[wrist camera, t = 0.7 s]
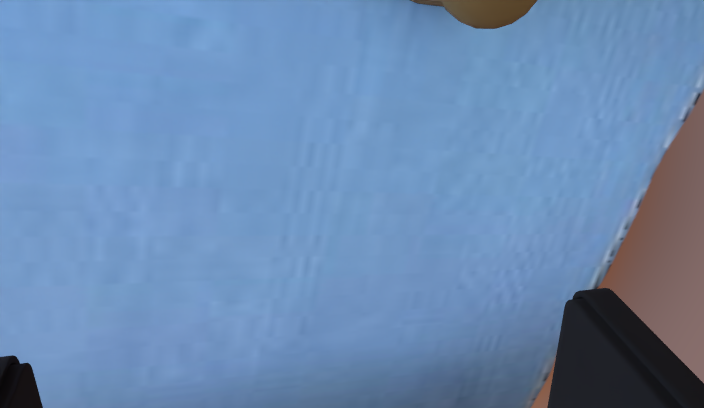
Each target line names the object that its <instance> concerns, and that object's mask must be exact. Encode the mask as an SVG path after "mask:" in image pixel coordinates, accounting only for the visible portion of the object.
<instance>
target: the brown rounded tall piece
mask: <svg viewBox="0 0 704 408" xmlns="http://www.w3.org/2000/svg"><path fill="white" fill-rule="evenodd" d="M411 1H413V2H416V3H419V4H427V5H435V6H443V7H445V9H446V10H447V11H448V12H449V13H450V14H451V15H453V16H454V17H455V18H456V19H457V20H458V21H460V22H461V23H464V24H466V25H469V26H472V27H474V28H481V29H495V28H499V27H502V26H506V25H509V24H512V23H514V22H515V21H516V20H518V19H519V18H521V17H522V16H524V15H525V14H526V13H527V12H528V11H529V10H530V9H531V7H532V6H533V5H534V4H535V3H536V1H537V0H411Z"/></svg>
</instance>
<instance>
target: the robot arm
mask: <svg viewBox="0 0 704 408" xmlns="http://www.w3.org/2000/svg"><path fill="white" fill-rule="evenodd" d="M0 408H43V407H42V403H41V400H40V396H39V392H38V388H37V385H36V381H35V377H34V374H33V370H32V367H31V365H30V364H29V363H23V364H20V363H19V360H18V359H17V357H16V356H5V357H0ZM548 408H704V383H703V382H702V381H701V380H700V379H699V378H697V376H696V375H695V374H694V373H693V372H692V371H691V370H690V369H689V368H688V367H687V366H686V365H685V364H684V363H683V362H682V361H681V360H680V359H679V358H678V357H677V356H676V355H675V354H674V353H673V352H672V351H671V350H670V349H669V348H668V347H667V346H666V345H665V344H664V343H663V342H662V341H661V340H660V339H659V338H658V337H657V336H656V335H655V334H654V333H653V332H652V331H651V330H650V329H649V328H648V327H647V326H646V324H645V323H644V322H643V321H641V319H639V317H638V316H637V315H636V314H635V313H634V312H633V311H632V310H631V309H630V308H629V307H628V306H627V305H626V304H625V303H624V302H623V301H622V300H621V299H620V298H619V297H618V296H617V295H616V294H615V293H614V292H613V291H612V290H610V289H608V288H602V289H592V290H583V291H578V292H576V293H575V294H574V296H573V299H572V300H569V301H567V302H566V304H565V308H564V314H563V320H562V326H561V332H560V338H559V343H558V349H557V355H556V361H555V367H554V373H553V379H552V385H551V391H550V397H549V402H548Z"/></svg>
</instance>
